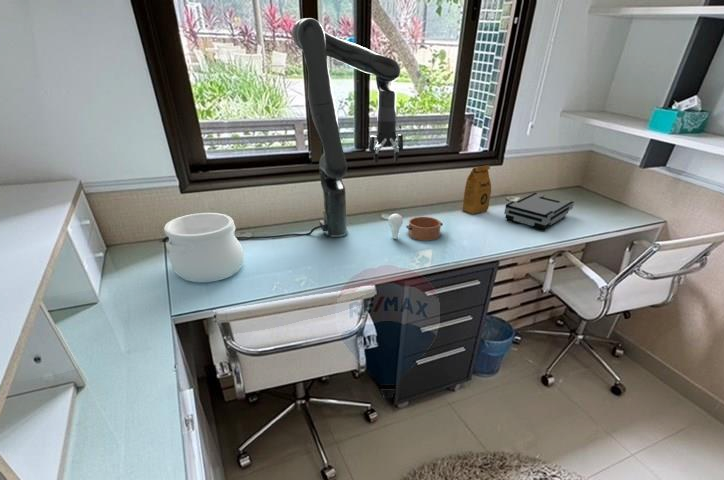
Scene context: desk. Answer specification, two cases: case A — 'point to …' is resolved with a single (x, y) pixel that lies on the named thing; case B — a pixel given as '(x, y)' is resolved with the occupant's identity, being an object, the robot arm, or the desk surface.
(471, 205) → the coffee package
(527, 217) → the game console
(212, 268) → the pot
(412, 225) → the copper pot
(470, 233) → the desk surface
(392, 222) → the lightbulb
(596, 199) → the desk surface
